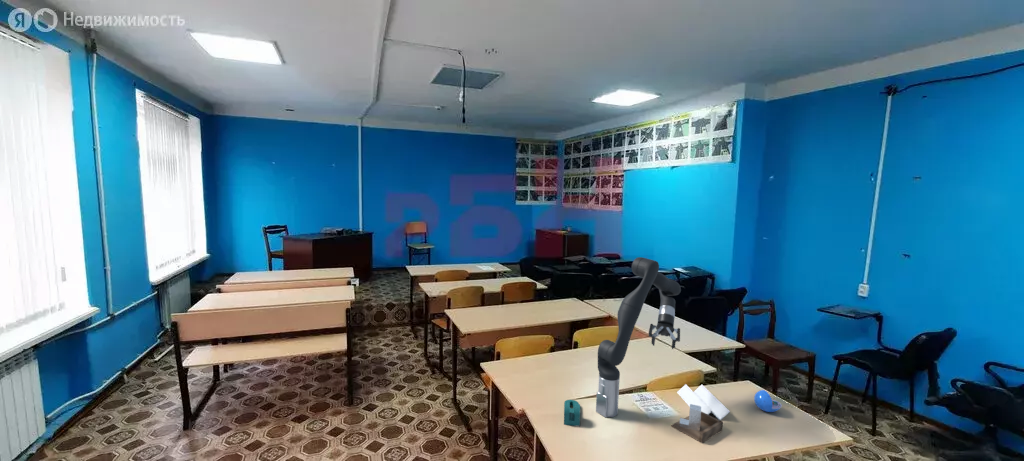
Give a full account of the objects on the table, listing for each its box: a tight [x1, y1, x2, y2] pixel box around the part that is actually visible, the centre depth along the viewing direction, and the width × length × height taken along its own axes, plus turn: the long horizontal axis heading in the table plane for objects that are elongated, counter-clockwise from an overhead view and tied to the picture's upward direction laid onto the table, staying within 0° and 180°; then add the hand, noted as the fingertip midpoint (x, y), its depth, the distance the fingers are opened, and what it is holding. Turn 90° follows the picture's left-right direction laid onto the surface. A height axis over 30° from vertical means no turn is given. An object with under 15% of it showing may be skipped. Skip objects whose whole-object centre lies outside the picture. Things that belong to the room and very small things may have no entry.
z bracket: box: [676, 383, 731, 421], centre depth 193 cm, size 12×25×6 cm
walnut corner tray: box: [670, 411, 724, 444], centre depth 174 cm, size 16×14×4 cm
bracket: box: [563, 399, 581, 427], centre depth 182 cm, size 18×7×8 cm, turn 172°
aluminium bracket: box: [679, 404, 701, 431], centre depth 174 cm, size 8×4×9 cm, turn 65°
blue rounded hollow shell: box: [753, 389, 783, 413], centre depth 190 cm, size 10×12×10 cm
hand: (662, 346), depth 191 cm, fingers open, 8 cm apart
